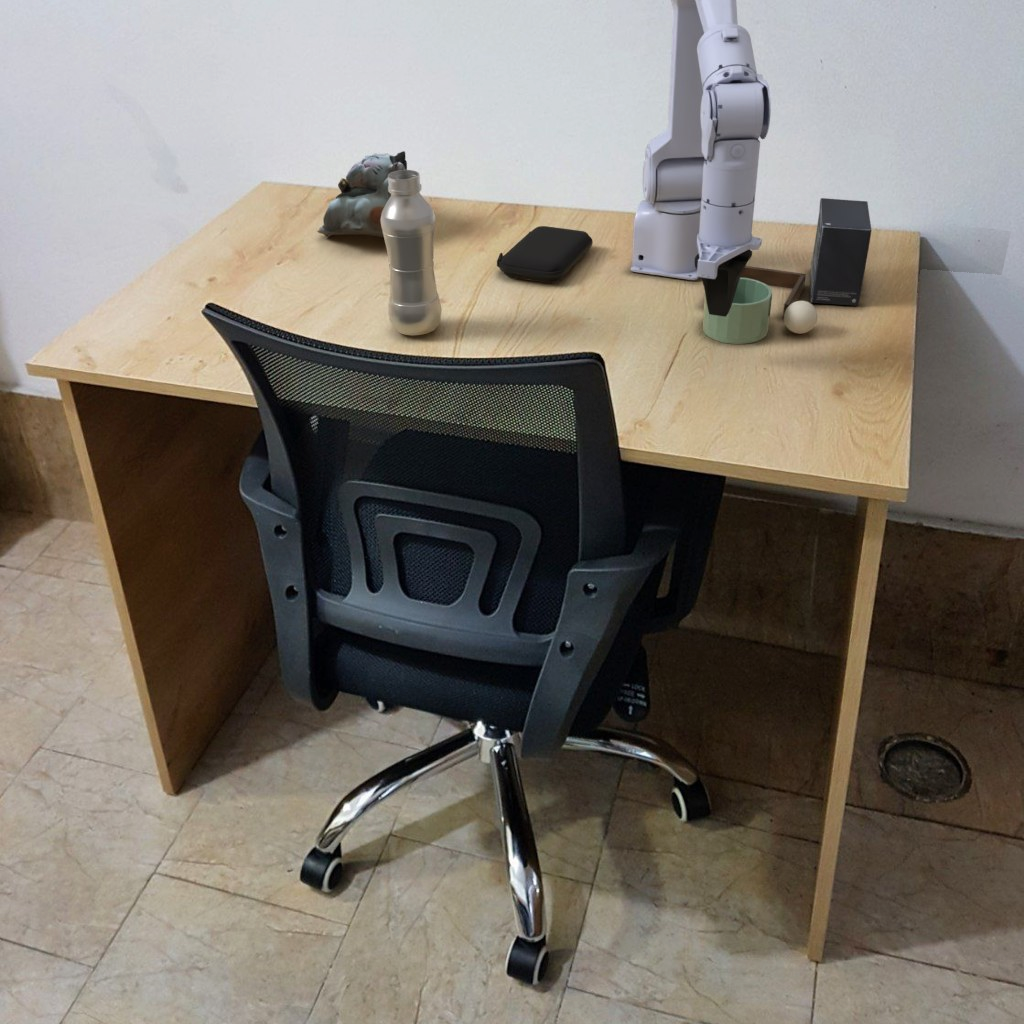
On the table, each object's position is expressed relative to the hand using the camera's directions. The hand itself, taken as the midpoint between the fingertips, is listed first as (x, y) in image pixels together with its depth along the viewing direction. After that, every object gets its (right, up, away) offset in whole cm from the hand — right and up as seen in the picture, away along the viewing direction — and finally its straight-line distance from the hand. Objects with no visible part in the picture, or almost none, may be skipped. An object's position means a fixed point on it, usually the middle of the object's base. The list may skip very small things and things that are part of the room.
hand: (718, 313), depth 130 cm
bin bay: (+8, +5, +18) cm, 20 cm away
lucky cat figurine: (-46, +19, +40) cm, 64 cm away
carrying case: (-19, +12, +29) cm, 37 cm away
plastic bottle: (-36, 0, +13) cm, 38 cm away
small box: (+19, +6, +19) cm, 28 cm away
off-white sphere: (+12, +1, +8) cm, 14 cm away
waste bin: (+4, 0, +11) cm, 11 cm away
